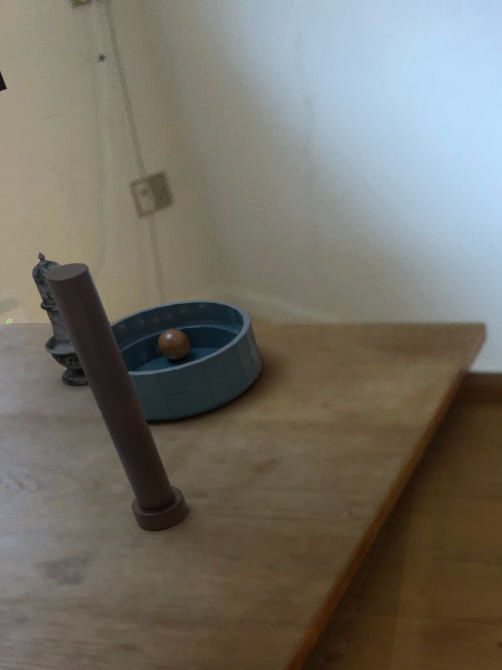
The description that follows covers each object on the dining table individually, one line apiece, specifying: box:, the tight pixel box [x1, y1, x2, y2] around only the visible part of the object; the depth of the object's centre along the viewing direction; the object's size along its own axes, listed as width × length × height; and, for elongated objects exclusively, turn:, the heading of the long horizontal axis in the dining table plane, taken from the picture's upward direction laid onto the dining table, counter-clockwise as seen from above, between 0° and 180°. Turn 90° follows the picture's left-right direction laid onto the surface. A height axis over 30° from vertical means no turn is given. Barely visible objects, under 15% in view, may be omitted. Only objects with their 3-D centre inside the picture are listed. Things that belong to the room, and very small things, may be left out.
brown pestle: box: [45, 262, 189, 531], centre depth 69 cm, size 4×4×20 cm
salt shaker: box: [31, 252, 89, 387], centre depth 92 cm, size 6×6×12 cm
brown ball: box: [158, 329, 190, 361], centre depth 94 cm, size 3×3×3 cm
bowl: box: [110, 299, 263, 422], centre depth 90 cm, size 15×15×5 cm
